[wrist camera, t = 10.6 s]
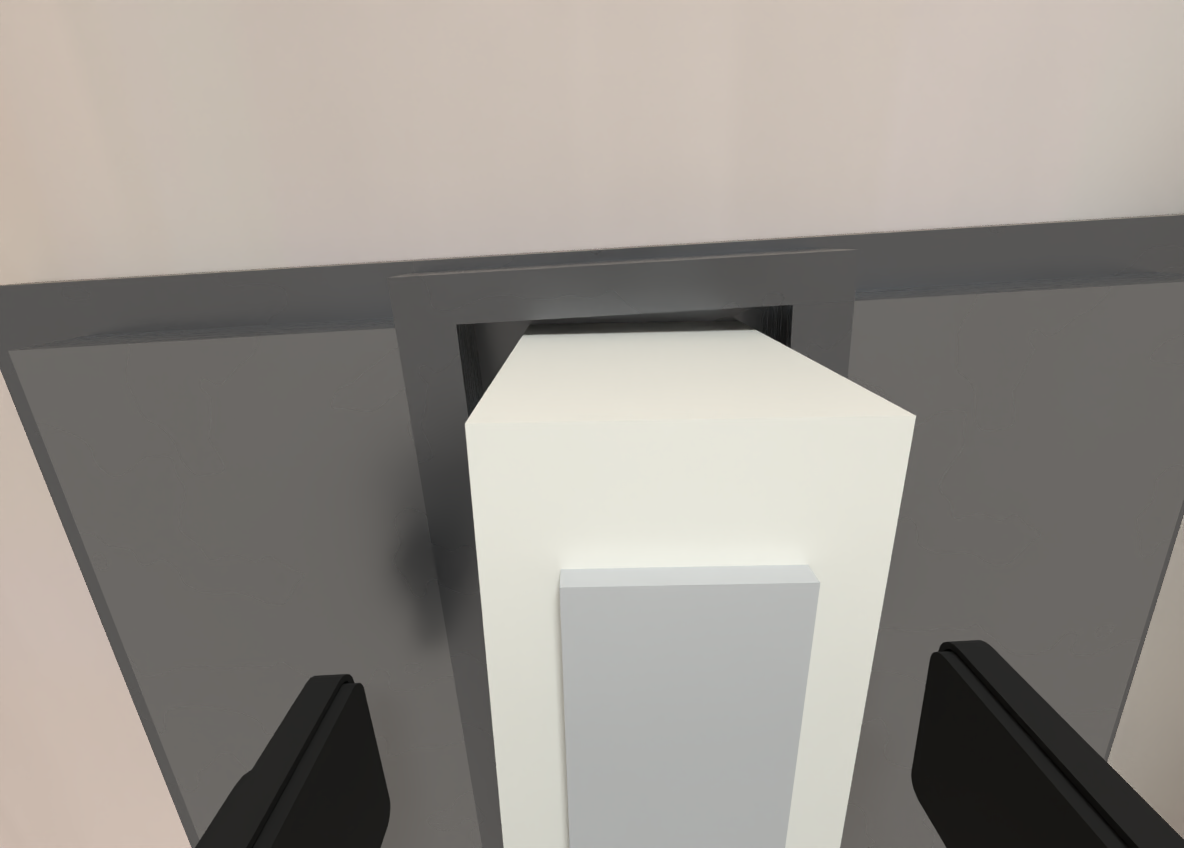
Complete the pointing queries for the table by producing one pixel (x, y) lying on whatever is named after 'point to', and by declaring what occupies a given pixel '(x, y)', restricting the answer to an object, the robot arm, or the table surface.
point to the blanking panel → (679, 583)
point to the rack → (443, 493)
